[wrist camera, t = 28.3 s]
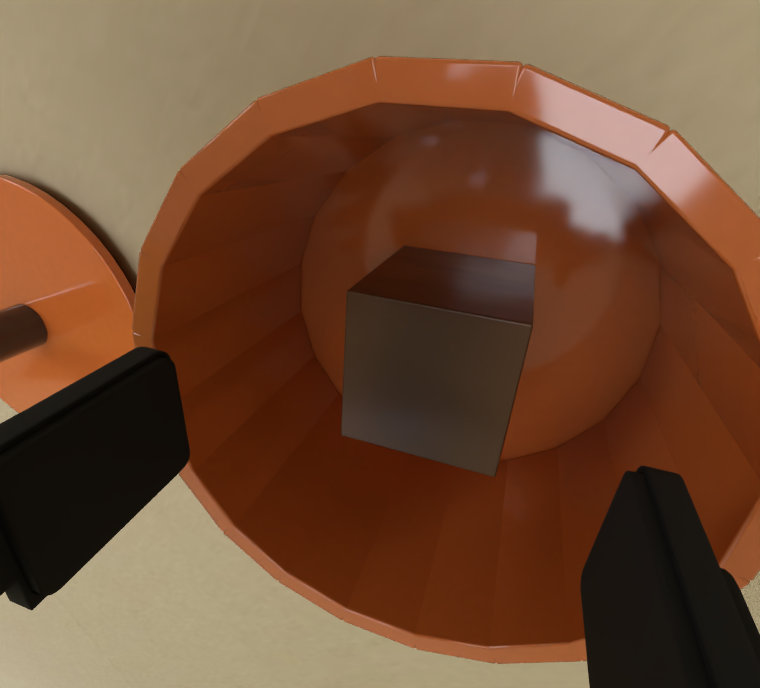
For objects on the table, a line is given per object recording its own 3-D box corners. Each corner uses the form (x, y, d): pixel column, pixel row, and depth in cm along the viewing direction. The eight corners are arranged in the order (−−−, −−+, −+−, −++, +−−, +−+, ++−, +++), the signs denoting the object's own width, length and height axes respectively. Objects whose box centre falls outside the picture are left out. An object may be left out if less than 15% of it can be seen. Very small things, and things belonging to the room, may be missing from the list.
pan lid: (-7, 400, 32) (-105, 447, 27) (-99, 156, 25) (-255, 161, 20) (181, 460, 28) (105, 528, 23) (137, 189, 21) (12, 205, 16)
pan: (294, 419, 24) (174, 557, 16) (289, 86, 17) (73, 42, 9) (605, 503, 20) (646, 740, 12) (762, 116, 13) (1096, 83, 5)
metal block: (392, 357, 20) (340, 435, 14) (403, 244, 17) (345, 290, 12) (508, 382, 18) (495, 478, 13) (535, 264, 16) (533, 324, 11)
